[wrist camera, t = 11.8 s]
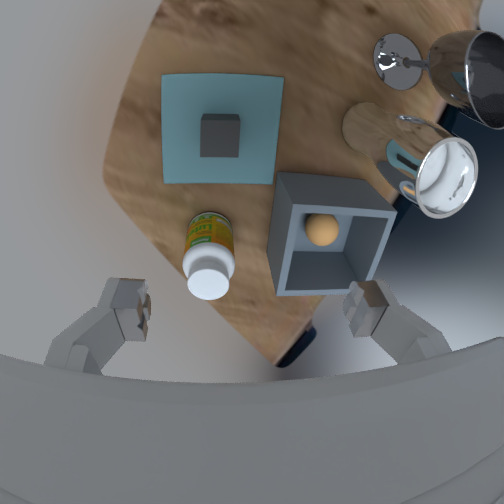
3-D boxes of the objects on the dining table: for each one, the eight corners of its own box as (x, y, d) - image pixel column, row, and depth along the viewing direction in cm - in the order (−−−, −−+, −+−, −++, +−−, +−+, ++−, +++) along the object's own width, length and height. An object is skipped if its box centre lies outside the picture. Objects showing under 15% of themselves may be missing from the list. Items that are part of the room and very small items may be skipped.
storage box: (277, 171, 31) (293, 204, 25) (365, 180, 33) (397, 211, 26) (266, 252, 38) (276, 296, 31) (344, 253, 39) (365, 293, 33)
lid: (163, 74, 24) (152, 76, 20) (281, 77, 26) (293, 79, 22) (165, 180, 31) (157, 199, 27) (271, 181, 33) (279, 200, 29)
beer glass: (325, 129, 29) (396, 184, 17) (364, 85, 26) (457, 114, 14) (365, 166, 32) (438, 236, 20) (401, 126, 29) (489, 178, 17)
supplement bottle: (211, 202, 33) (209, 252, 25) (241, 232, 36) (248, 286, 28) (178, 229, 35) (168, 283, 27) (208, 255, 37) (207, 312, 30)
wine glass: (435, 60, 23) (531, 83, 11) (407, 106, 27) (500, 148, 15) (389, 17, 21) (487, 11, 9) (357, 65, 24) (451, 80, 12)
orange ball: (304, 204, 33) (313, 221, 30) (335, 206, 34) (347, 223, 31) (298, 233, 36) (306, 252, 32) (328, 234, 36) (339, 253, 33)
